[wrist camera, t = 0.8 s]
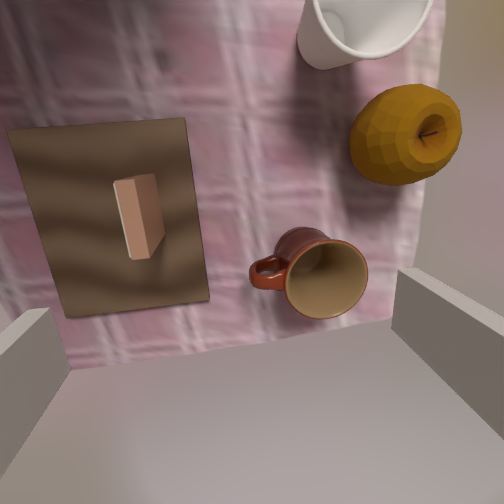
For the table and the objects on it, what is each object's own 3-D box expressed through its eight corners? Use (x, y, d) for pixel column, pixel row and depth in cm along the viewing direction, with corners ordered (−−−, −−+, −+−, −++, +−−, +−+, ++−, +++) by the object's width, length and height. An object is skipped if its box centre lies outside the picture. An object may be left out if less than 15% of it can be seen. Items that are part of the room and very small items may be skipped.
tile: (138, 174, 33) (111, 181, 24) (154, 173, 33) (133, 179, 24) (150, 235, 35) (129, 260, 26) (165, 233, 35) (149, 258, 27)
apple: (423, 131, 36) (515, 119, 25) (373, 196, 38) (439, 213, 27) (367, 79, 34) (442, 40, 23) (316, 152, 35) (363, 150, 24)
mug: (332, 217, 38) (372, 237, 29) (329, 278, 41) (364, 315, 31) (241, 222, 37) (251, 245, 27) (244, 285, 40) (253, 326, 30)
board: (13, 130, 31) (5, 129, 30) (185, 118, 33) (184, 117, 31) (70, 313, 38) (66, 318, 37) (209, 295, 40) (209, 299, 38)
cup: (356, -32, 30) (430, -131, 20) (374, 72, 34) (446, 33, 23) (266, 1, 30) (294, -81, 20) (294, 102, 33) (330, 77, 23)
